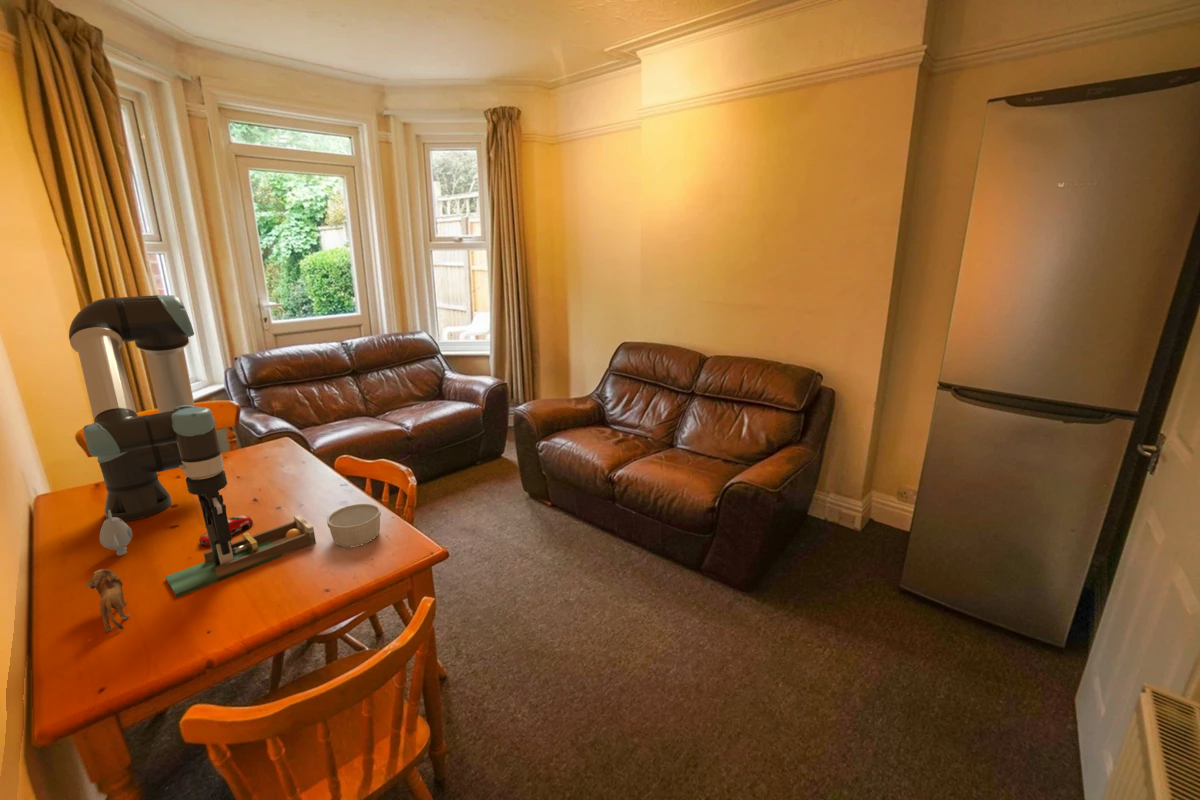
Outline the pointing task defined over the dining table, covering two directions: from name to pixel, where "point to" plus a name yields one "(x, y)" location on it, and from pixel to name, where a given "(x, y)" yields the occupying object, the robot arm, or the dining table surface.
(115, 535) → the toy figure
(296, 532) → the ball
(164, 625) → the dining table surface
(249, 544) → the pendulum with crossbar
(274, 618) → the dining table surface
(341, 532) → the ramekin
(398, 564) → the dining table surface
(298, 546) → the lane
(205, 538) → the race car
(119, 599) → the lion figurine
